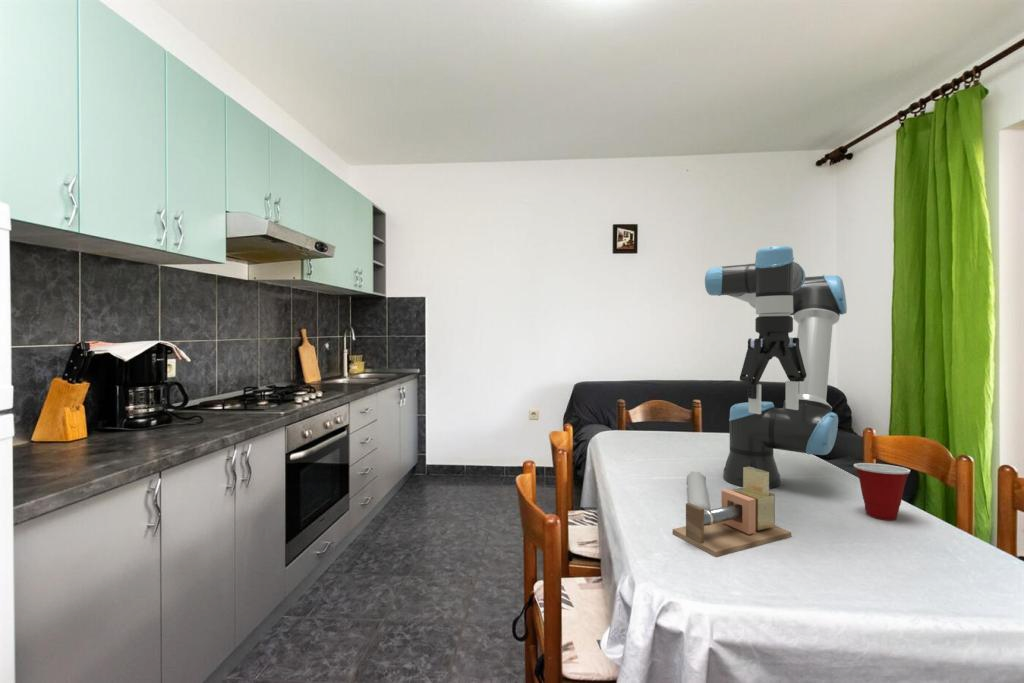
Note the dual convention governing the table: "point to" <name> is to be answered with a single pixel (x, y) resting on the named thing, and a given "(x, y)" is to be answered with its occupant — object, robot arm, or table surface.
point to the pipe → (722, 514)
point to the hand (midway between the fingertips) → (773, 411)
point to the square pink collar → (747, 510)
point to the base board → (723, 534)
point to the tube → (698, 490)
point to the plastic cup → (882, 488)
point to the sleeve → (758, 496)
